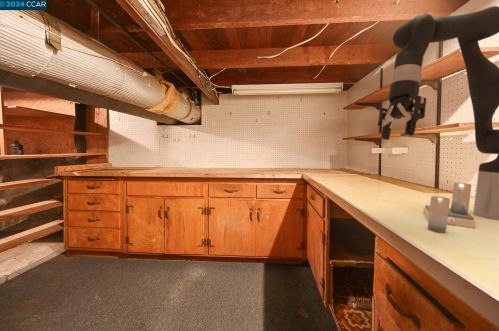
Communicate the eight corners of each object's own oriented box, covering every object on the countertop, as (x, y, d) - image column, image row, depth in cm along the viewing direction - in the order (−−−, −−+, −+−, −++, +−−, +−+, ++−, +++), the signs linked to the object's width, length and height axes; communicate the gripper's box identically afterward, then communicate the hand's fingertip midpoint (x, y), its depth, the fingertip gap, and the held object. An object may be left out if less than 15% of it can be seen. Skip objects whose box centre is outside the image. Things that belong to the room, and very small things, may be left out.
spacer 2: (449, 210, 83) (452, 182, 82) (465, 212, 81) (469, 183, 80) (452, 213, 80) (455, 183, 79) (469, 215, 77) (473, 185, 76)
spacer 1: (426, 226, 75) (430, 195, 74) (444, 229, 72) (448, 197, 72) (428, 230, 71) (432, 198, 70) (447, 234, 69) (451, 200, 68)
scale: (423, 213, 91) (423, 204, 91) (464, 219, 85) (465, 210, 85) (427, 221, 80) (428, 211, 80) (475, 229, 74) (476, 218, 74)
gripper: (438, 78, 64) (429, 136, 63) (396, 95, 78) (388, 142, 77) (415, 71, 63) (406, 130, 62) (376, 89, 77) (368, 137, 76)
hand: (396, 137), depth 69 cm, fingers open, 8 cm apart
